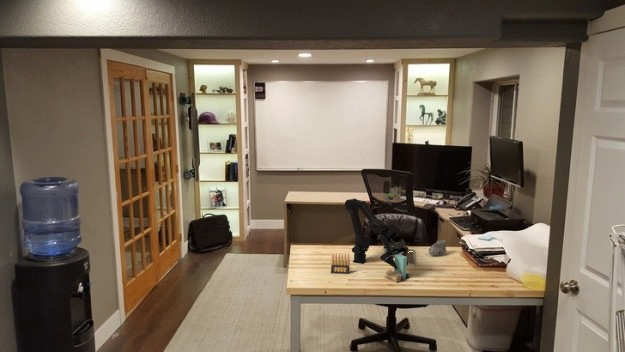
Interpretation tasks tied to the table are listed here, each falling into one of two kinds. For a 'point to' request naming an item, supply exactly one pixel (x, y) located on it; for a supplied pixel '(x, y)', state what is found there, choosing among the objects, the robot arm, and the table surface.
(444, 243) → the mineral rock
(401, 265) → the teal rectangular block
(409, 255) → the picture frame
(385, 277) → the offcut bottom
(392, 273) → the offcut top
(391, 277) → the offcut middle
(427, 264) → the table surface
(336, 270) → the ammunition clip
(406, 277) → the rack
